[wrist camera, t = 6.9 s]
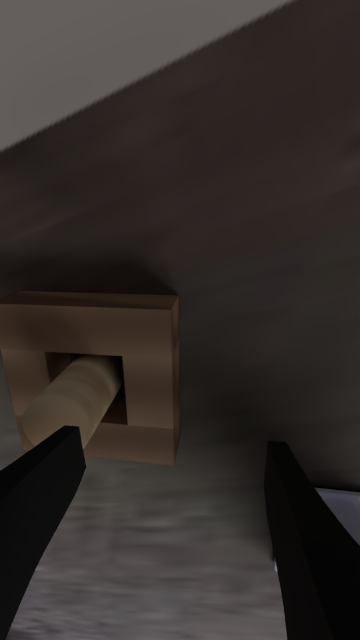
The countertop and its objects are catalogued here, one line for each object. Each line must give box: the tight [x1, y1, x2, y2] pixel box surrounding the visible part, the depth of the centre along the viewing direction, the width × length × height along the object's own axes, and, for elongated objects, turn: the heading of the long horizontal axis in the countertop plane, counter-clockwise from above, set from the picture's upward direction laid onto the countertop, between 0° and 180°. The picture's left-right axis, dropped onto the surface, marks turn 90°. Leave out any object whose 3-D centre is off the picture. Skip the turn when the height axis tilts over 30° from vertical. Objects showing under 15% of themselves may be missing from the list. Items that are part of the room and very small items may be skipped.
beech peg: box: [22, 354, 124, 449], centre depth 19 cm, size 4×4×7 cm
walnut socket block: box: [0, 291, 180, 466], centre depth 21 cm, size 11×11×3 cm
